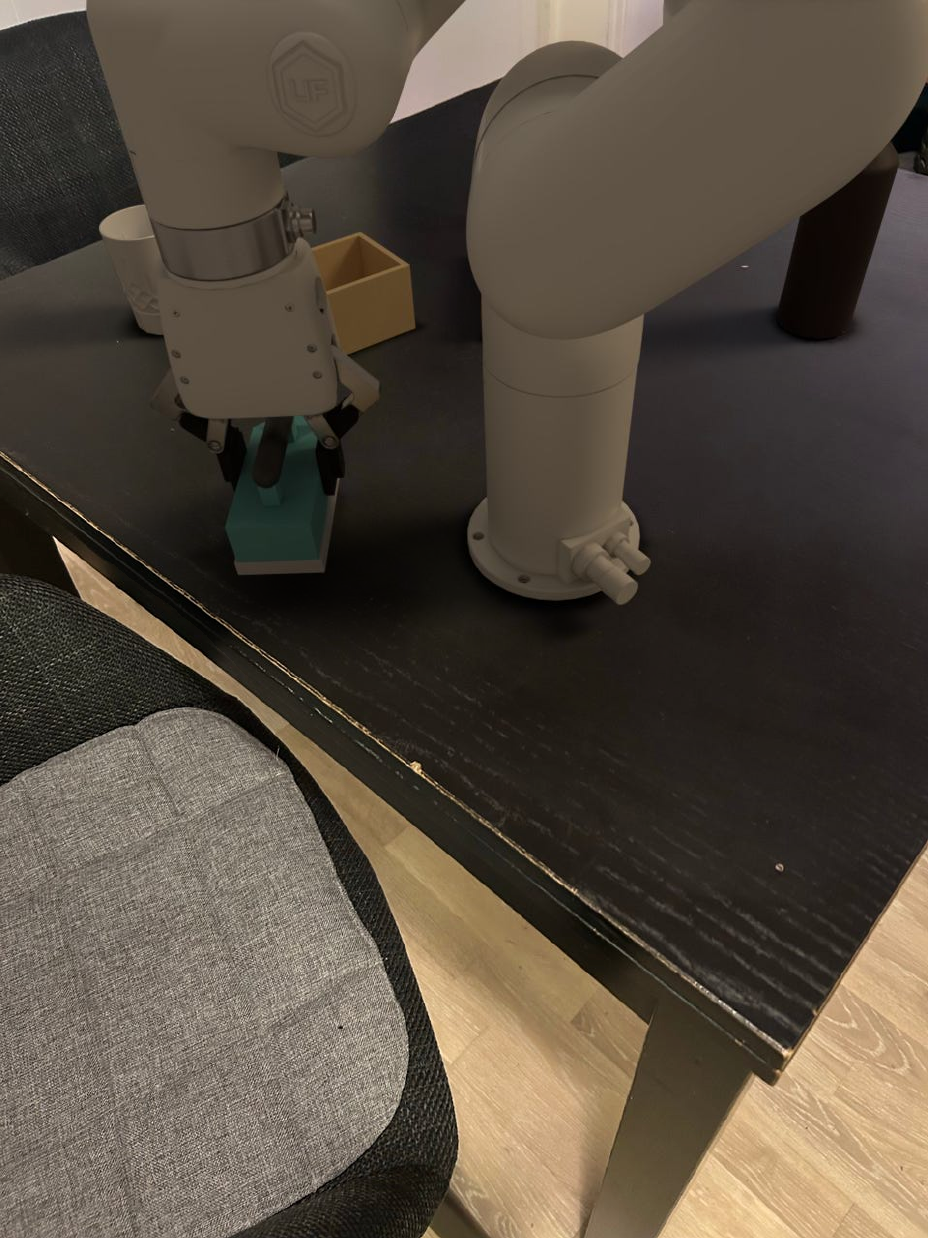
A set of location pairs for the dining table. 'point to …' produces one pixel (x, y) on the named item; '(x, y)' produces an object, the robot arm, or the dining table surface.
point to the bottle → (836, 252)
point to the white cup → (135, 262)
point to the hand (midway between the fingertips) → (288, 482)
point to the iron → (280, 502)
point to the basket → (365, 291)
